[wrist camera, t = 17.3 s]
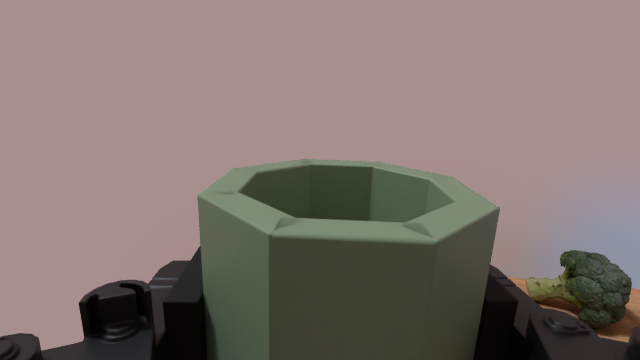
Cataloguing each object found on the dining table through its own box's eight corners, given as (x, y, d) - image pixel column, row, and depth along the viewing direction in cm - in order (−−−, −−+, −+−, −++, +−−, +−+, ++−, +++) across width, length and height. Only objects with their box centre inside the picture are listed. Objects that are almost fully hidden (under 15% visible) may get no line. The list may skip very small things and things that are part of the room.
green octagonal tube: (186, 601, 7) (150, 227, 5) (252, 371, 14) (247, 156, 11) (474, 621, 7) (561, 246, 5) (408, 380, 14) (434, 163, 11)
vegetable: (531, 268, 69) (625, 259, 59) (543, 334, 62) (652, 337, 53) (510, 247, 62) (613, 233, 52) (522, 319, 55) (643, 318, 46)
